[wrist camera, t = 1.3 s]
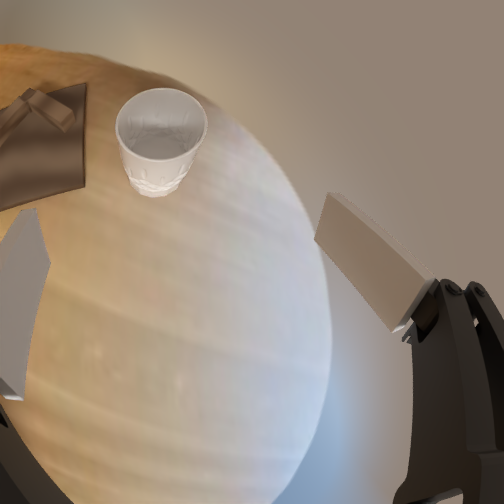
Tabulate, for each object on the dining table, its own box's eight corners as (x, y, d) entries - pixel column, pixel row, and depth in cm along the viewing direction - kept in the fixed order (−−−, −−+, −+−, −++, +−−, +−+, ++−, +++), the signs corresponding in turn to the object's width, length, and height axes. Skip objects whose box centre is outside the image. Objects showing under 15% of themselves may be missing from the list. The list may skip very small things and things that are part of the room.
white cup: (147, 131, 29) (152, 76, 20) (201, 161, 31) (223, 112, 22) (109, 182, 27) (96, 135, 18) (167, 215, 29) (176, 178, 20)
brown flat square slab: (85, 187, 26) (78, 174, 23) (-22, 219, 20) (-35, 212, 17) (86, 87, 27) (83, 71, 24) (-8, 118, 21) (-16, 106, 18)
